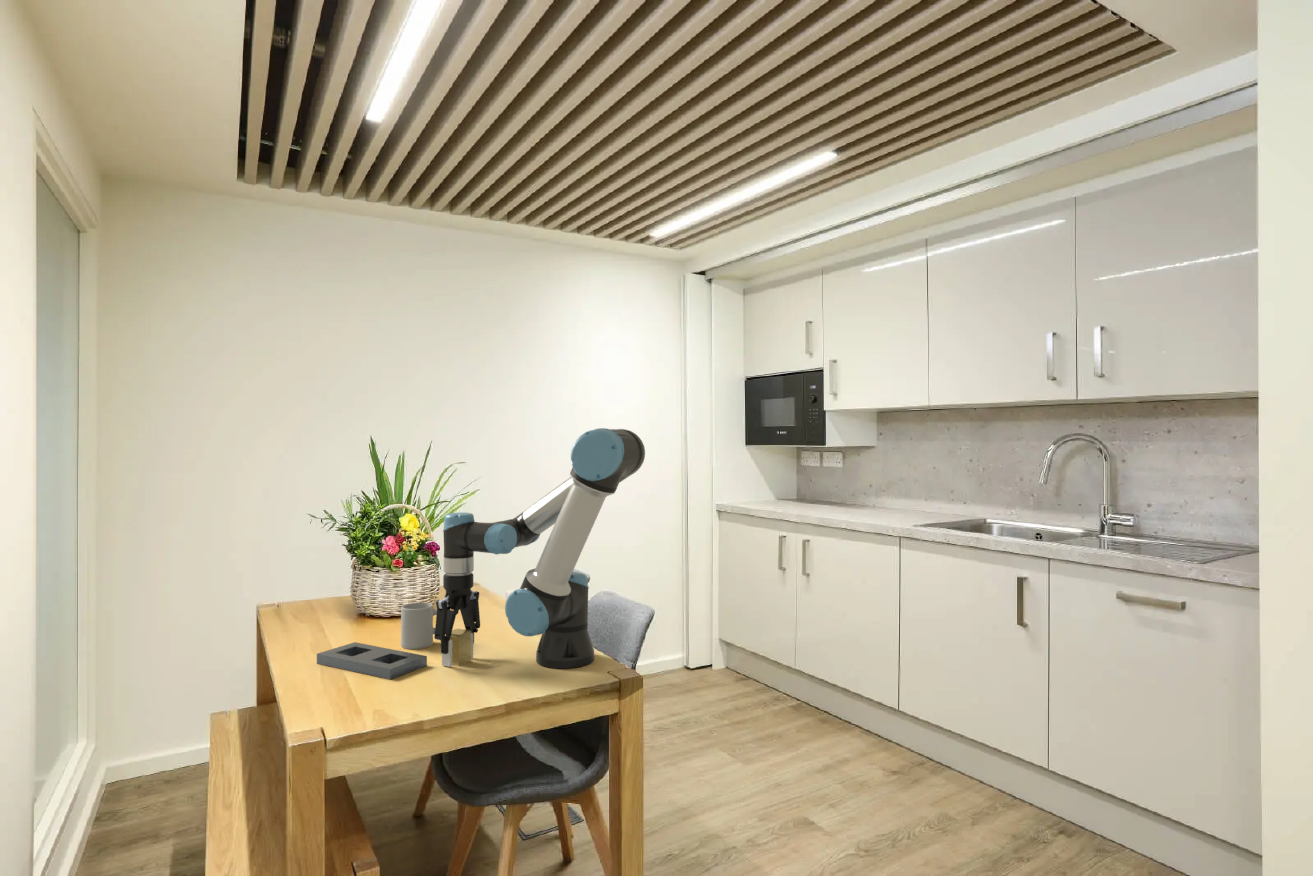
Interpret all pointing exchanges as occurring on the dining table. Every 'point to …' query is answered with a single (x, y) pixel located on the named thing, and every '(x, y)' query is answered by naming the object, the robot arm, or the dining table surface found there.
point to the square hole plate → (372, 660)
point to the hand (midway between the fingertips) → (457, 661)
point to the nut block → (461, 646)
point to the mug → (417, 625)
